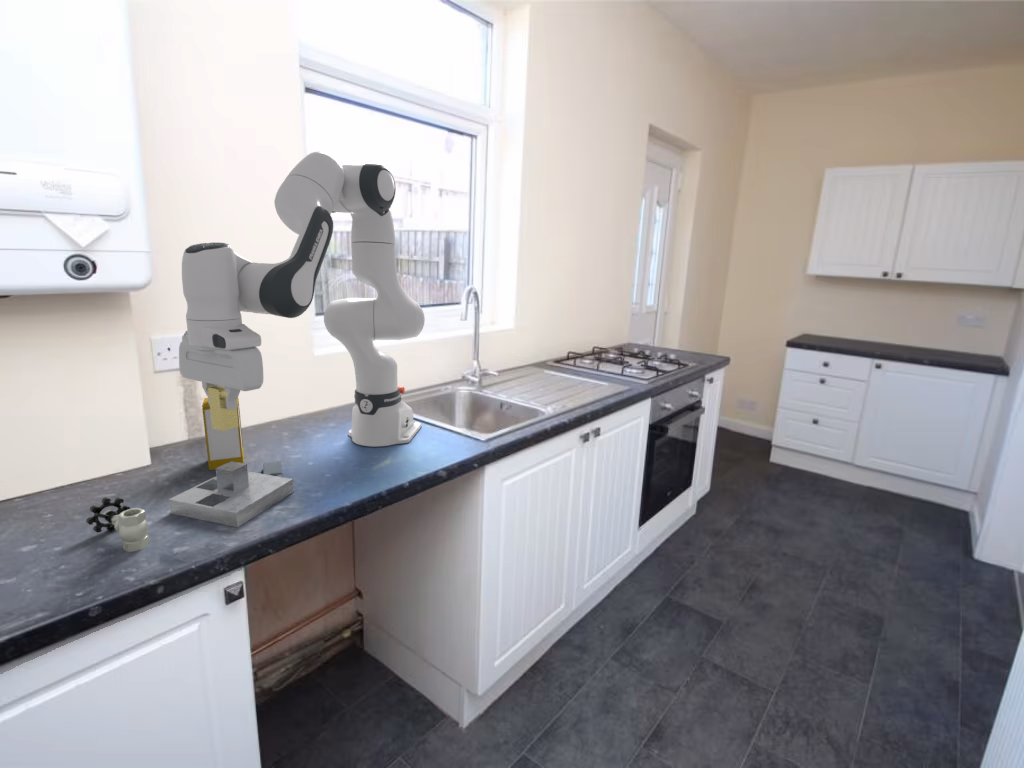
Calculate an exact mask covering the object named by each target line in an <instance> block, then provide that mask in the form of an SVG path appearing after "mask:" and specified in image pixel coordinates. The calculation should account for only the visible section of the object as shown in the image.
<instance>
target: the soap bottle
mask: <svg viewBox="0 0 1024 768" xmlns="http://www.w3.org/2000/svg"><path fill="white" fill-rule="evenodd" d="M217 386H218V385H217ZM201 407H202V417H203V418H202V419H203V427H204V437H205V445H206V451H207V452H206V454H207V461H208V469H209V471H213V470H216V468H218V467H220V466H222V465H224V464H226V463H228V462H230V461H232V462H238V463H244V462H245V454H244V444H243V442H244V441H243V432H242V431H243V430H242V422H241V412H240V411H241V410H240V401H239V397H238V398H237V416H238V427H237V428H233V429H229V430H226V431H220V430H216V429H213V428H212V422H211V412H210V405H209V404H208V397H204V398H203V402H202V405H201ZM244 464H245V463H244Z"/></svg>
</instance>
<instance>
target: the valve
mask: <svg viewBox="0 0 1024 768" xmlns="http://www.w3.org/2000/svg"><path fill="white" fill-rule="evenodd" d="M124 502H125V500H124V498H121V497H116V498H115V499H114V501H113V502H112V500H111V499H110V498H109V497H107V496H106V497H104V498H102V499H101V503H102V504H101V505H100V506H97V505H91V506H90V508H89V511H90V512H91V513H93V516H90V517H87V518H86V519H85V521H86V522H85V523H87V524H88V525H93V524H95V525H94V526H93V528H92V531H94V532H95V533H101V532H102V531H103V530H102V529H103V528H105V529H106V530H107V532H115V531H116V532H117V533H118V535H119V537H120V539H121V542H122V548H123V550H124V551H126V552H128V553H132V552H138V551H142V550H144V549H145V548H147V546H149V545H150V537H149V535H148V533H149V529H150V528H149V524H148V522H147V520H146V519H147V518H146V511H145V510H144V509H142V508H141V507H133V508H131V507H130V506H128V505H125V504H124V505H123V506H122V505H121V504H123V503H124ZM108 507H116V508H117V509H116V511H115V510H113V509H112V510H111V509H107V510H105V509H106V508H108ZM103 510H105V511H104V512H103V513H101V512H102V511H103ZM99 518H102V519H104V521H106V523H105V522H101V521H100V520H99Z"/></svg>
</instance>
